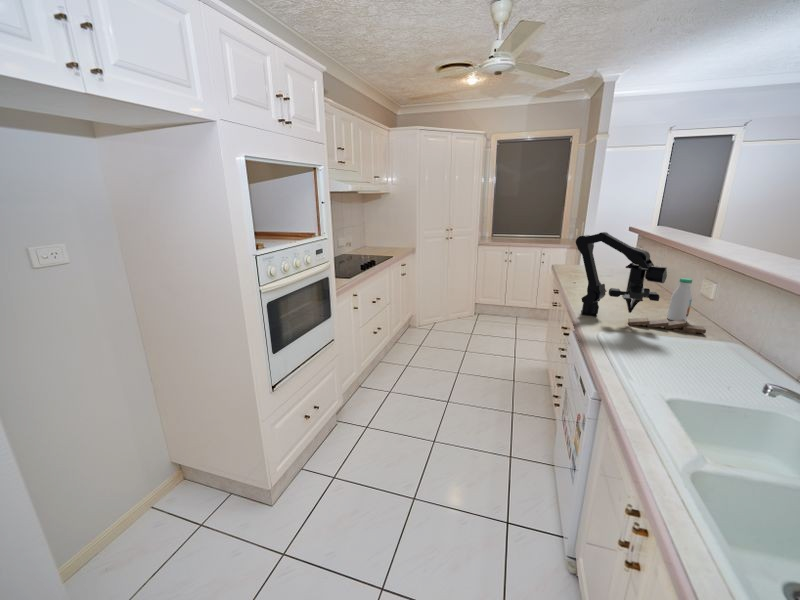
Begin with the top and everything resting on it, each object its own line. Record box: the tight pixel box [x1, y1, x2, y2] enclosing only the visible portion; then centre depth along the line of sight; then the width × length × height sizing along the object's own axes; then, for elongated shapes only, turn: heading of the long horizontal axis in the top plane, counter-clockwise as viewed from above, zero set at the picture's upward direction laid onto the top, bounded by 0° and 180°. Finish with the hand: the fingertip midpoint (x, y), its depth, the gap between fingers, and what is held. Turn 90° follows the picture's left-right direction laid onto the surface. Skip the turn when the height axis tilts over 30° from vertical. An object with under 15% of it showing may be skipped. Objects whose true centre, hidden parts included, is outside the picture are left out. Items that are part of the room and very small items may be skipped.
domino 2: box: [646, 318, 669, 329], centre depth 158 cm, size 2×5×8 cm
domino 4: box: [671, 327, 697, 335], centre depth 154 cm, size 2×5×8 cm
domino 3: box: [664, 319, 688, 330], centre depth 155 cm, size 2×5×8 cm
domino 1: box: [627, 317, 650, 326], centre depth 160 cm, size 2×5×8 cm
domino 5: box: [681, 324, 707, 334], centre depth 152 cm, size 2×5×8 cm
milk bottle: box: [666, 277, 693, 322], centre depth 166 cm, size 8×8×20 cm
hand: (629, 312), depth 161 cm, fingers closed
